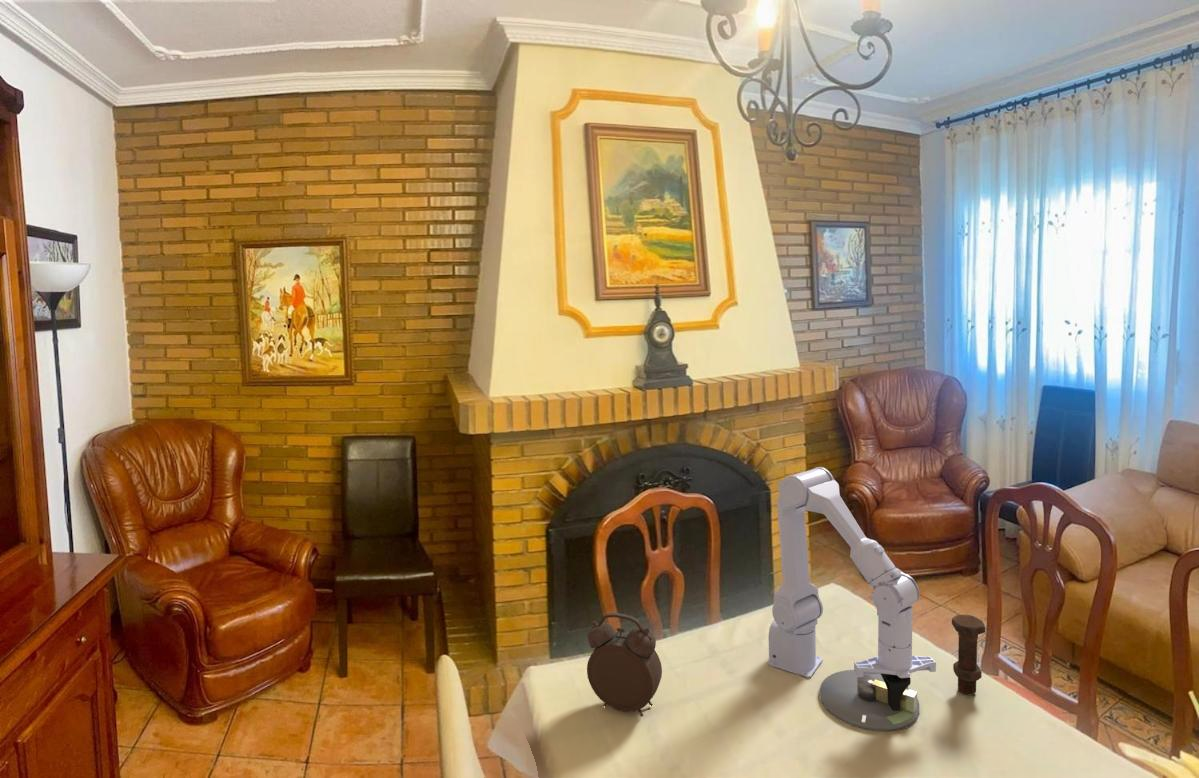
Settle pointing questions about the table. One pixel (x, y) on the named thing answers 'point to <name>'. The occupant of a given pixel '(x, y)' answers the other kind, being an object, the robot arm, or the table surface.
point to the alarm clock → (623, 665)
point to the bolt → (967, 652)
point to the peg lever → (883, 692)
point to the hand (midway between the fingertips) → (894, 707)
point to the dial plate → (861, 705)
